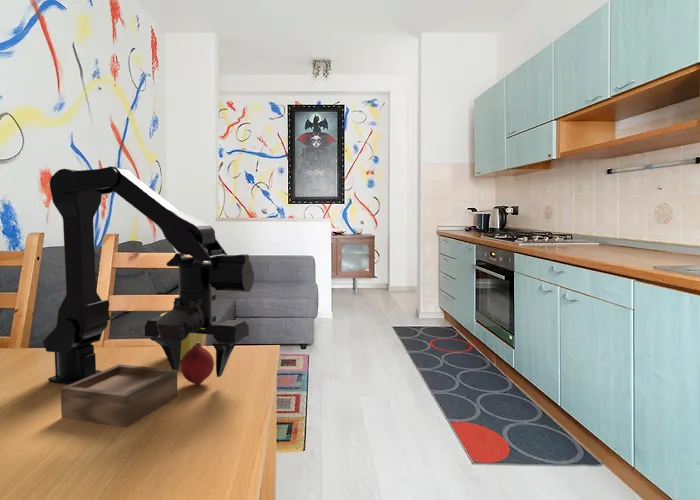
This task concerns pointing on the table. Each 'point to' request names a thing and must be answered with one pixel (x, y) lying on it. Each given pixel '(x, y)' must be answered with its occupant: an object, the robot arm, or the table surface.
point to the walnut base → (119, 395)
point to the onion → (197, 364)
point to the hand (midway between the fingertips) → (197, 374)
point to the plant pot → (190, 341)
